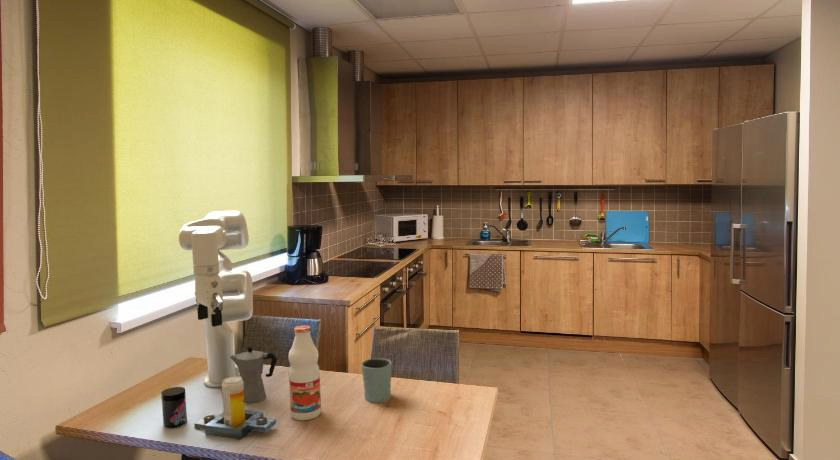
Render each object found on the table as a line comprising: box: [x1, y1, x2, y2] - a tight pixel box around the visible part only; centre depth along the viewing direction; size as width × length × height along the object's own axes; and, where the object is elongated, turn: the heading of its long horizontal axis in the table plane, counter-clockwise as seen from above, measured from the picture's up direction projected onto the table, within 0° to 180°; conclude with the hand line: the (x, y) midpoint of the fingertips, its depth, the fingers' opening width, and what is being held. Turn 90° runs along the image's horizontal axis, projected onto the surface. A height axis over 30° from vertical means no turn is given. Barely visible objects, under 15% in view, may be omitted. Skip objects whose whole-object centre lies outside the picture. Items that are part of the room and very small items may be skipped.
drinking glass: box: [361, 357, 393, 404], centre depth 190 cm, size 10×10×12 cm
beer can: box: [221, 376, 246, 426], centre depth 169 cm, size 6×6×15 cm
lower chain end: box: [193, 414, 253, 441], centre depth 170 cm, size 18×12×2 cm, turn 74°
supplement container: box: [160, 386, 188, 429], centre depth 173 cm, size 7×7×10 cm
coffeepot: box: [230, 346, 278, 405], centre depth 190 cm, size 15×9×18 cm, turn 92°
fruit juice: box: [288, 324, 322, 421], centre depth 177 cm, size 9×9×28 cm
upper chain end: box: [204, 409, 277, 435], centre depth 168 cm, size 18×12×2 cm, turn 74°
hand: (210, 322), depth 181 cm, fingers open, 9 cm apart
